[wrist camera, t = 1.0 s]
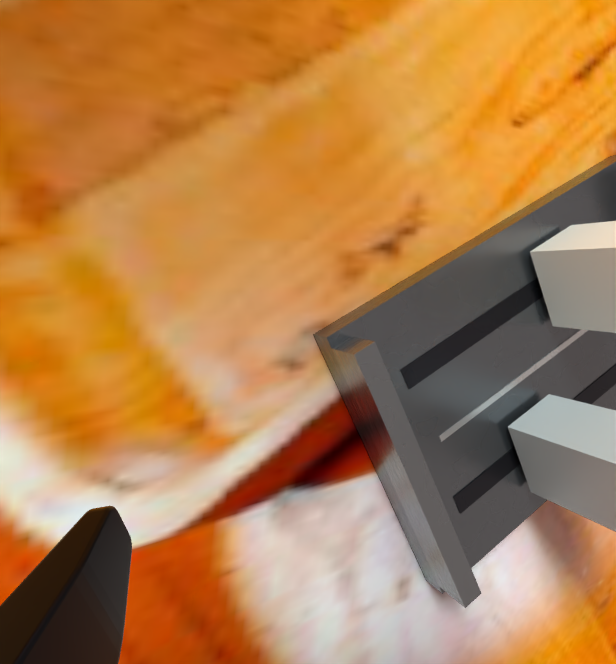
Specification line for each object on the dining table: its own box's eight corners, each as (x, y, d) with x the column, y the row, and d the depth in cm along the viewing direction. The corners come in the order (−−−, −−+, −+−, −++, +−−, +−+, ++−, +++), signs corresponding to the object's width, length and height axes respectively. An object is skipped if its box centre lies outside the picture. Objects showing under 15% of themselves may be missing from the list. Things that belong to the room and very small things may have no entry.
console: (426, 580, 26) (469, 616, 23) (313, 334, 22) (348, 342, 19) (663, 374, 32) (718, 383, 30) (610, 156, 28) (667, 143, 26)
